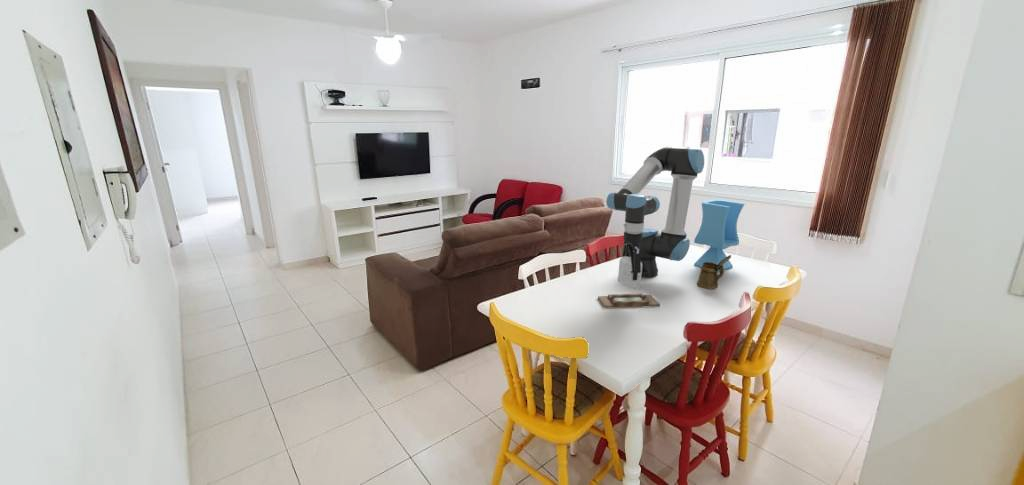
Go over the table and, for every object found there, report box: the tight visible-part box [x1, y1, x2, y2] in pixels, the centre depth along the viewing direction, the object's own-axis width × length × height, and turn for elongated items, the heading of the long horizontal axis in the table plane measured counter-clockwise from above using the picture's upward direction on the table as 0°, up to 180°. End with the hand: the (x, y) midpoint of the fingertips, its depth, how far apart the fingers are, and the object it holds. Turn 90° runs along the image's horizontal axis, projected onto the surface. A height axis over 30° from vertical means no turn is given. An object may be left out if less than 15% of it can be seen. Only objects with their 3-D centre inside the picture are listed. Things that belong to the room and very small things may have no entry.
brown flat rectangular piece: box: [597, 293, 661, 308], centre depth 175 cm, size 24×10×3 cm, turn 93°
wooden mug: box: [696, 254, 732, 291], centre depth 188 cm, size 9×14×18 cm, turn 35°
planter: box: [693, 199, 745, 273], centre depth 214 cm, size 16×16×35 cm
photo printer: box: [617, 256, 642, 289], centre depth 171 cm, size 10×4×12 cm, turn 35°
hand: (629, 282), depth 173 cm, fingers closed on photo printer, 10 cm apart
